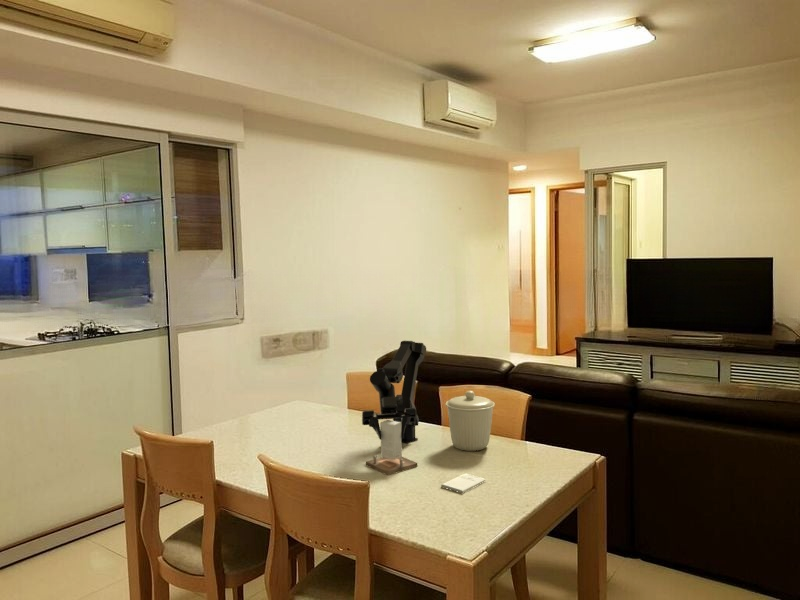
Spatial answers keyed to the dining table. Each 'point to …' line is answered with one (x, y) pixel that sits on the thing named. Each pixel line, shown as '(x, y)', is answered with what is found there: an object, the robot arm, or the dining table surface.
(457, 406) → the canister
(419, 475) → the dining table surface
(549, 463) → the dining table surface
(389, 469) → the pin nest board
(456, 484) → the external hard drive
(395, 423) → the skincare box
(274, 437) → the dining table surface
